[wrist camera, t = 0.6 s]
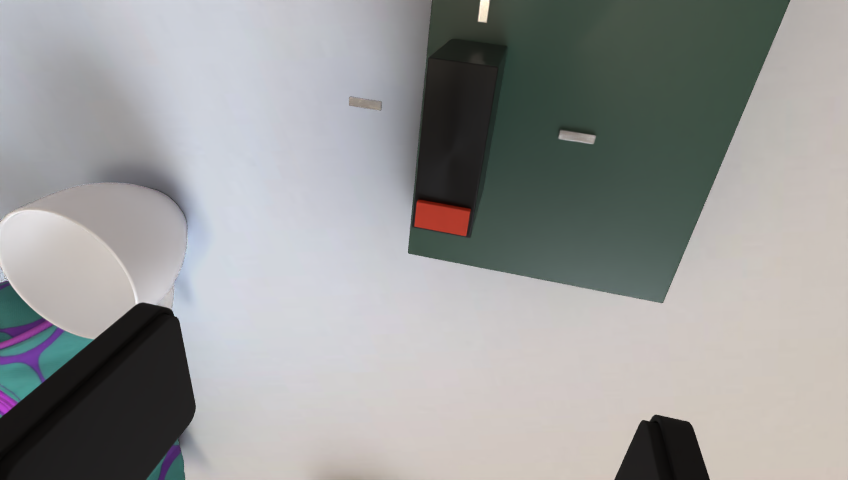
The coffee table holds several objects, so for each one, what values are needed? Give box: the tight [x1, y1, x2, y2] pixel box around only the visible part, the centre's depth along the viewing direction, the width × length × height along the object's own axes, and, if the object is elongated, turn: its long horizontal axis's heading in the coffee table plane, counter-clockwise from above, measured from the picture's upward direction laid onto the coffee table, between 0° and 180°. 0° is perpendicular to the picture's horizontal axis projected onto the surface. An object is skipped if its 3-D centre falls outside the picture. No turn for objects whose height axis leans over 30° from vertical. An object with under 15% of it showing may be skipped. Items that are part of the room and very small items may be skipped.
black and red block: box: [412, 39, 508, 238], centre depth 19 cm, size 6×2×5 cm, turn 174°
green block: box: [349, 0, 790, 303], centre depth 21 cm, size 14×15×3 cm
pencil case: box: [0, 281, 185, 480], centre depth 34 cm, size 21×9×10 cm, turn 2°
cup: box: [0, 182, 187, 339], centre depth 28 cm, size 8×10×7 cm
